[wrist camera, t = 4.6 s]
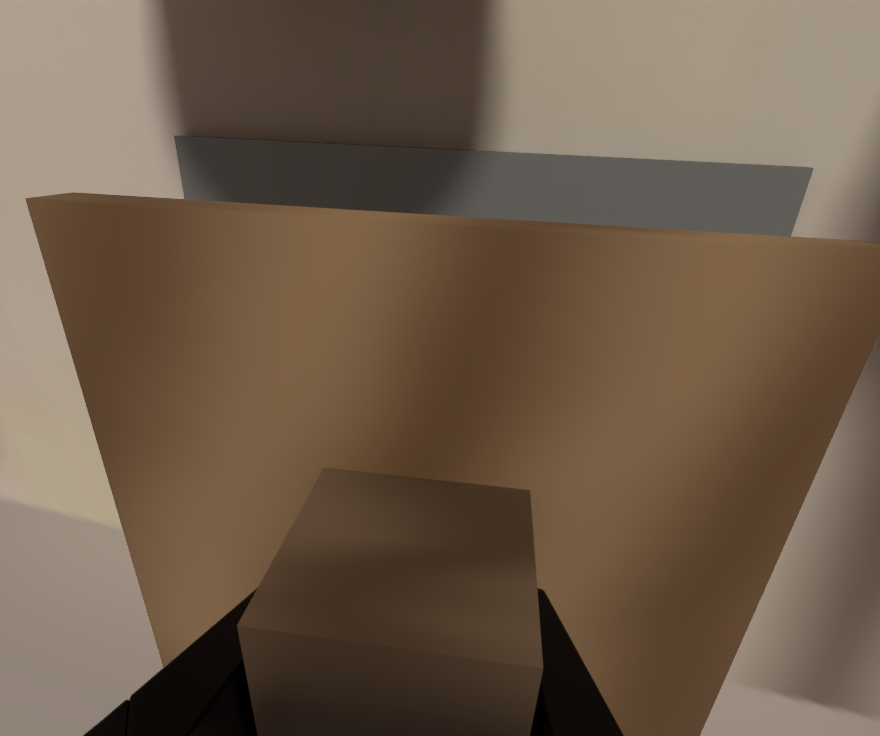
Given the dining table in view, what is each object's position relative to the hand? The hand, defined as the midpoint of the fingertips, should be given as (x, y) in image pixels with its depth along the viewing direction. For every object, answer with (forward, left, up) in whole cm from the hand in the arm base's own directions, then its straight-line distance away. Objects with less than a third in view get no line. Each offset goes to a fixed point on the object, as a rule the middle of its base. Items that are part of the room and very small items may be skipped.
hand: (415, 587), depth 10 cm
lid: (0, 0, -2) cm, 2 cm away
